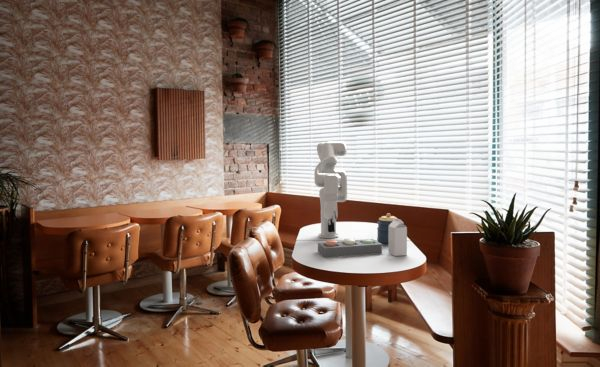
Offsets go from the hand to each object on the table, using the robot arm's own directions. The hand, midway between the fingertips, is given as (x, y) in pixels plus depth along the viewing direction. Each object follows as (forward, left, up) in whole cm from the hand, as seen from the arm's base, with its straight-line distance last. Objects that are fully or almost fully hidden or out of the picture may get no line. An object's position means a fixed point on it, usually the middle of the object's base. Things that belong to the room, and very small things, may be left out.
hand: (331, 231), depth 225 cm
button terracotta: (0, 0, -8) cm, 8 cm away
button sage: (0, +21, -9) cm, 23 cm away
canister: (-16, +40, -12) cm, 45 cm away
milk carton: (+10, +33, -12) cm, 37 cm away
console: (0, +10, -12) cm, 16 cm away
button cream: (0, +10, -8) cm, 13 cm away
